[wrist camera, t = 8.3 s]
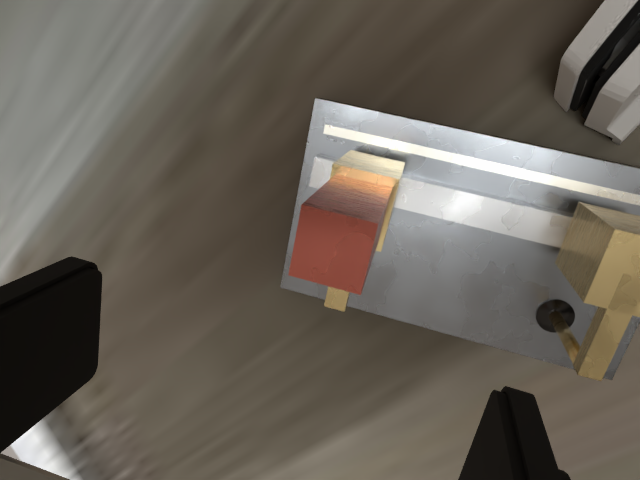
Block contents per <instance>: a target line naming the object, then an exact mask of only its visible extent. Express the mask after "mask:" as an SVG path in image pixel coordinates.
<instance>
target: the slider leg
mask: <svg viewBox="0 0 640 480" xmlns="http://www.w3.org/2000/svg"><path fill="white" fill-rule="evenodd" d="M404 166H405V162H401V161H397V160H392V159H388V158H384V157H379V156H375V155H371V154H366V153H362V152H358V151H353V150H350V151H349V152H347V153H346V154H345V155H343V156H342V157H341V158H339V159H338V160H337V161H336V162H334V163H333V165H332V170H331V175H330V179H329V180H328V181H327V182H326V183H325V184H324V185H323V186H322V187H320V188H319V189H318V190H317V191H316V192H315V193H314V194H313V195H312V196H310V197H309V198H308V199H307V200H306V201H305V202H304V203H303V204H302V205H301V210H300V215H299V221H298V226H297V231H296V237H295V242H294V247H293V253H292V258H291V263H290V268H289V274H288V275H289V276H293V277H296V278H300V279H304V280H307V281H311V282H315V283H318V284H322V285H326V286H328V290H327V295H326V299H325V304H324V306H326V307H329V308H333V309H336V310H340V311H343V312H345V309H346V306H347V303H348V299H349V295H350V292H351V293H355V294H358V295H361V293H362V290H363V287H364V284H365V281H366V278H367V275H368V272H369V269H370V266H371V263H372V260H373V257H374V254H375V251H379V252H381V250H382V247H383V244H384V240H385V237H386V234H387V230H388V227H389V224H390V220H391V216H392V212H393V208H394V205H395V201H396V197H397V193H398V189H399V185H400V181H401V177H402V173H403V170H404Z"/></svg>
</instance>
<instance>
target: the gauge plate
mask: <svg viewBox="0 0 640 480" xmlns="http://www.w3.org/2000/svg"><path fill="white" fill-rule="evenodd" d="M350 150H353V151H358V152H362V153H366V154H371V155H375V156H379V157H384V158H388V159H392V160H397V161H401V162H405V166H404V170H403V173H402V177H401V181H400V185H399V189H398V193H397V197H396V201H395V205H394V208H393V212H392V216H391V220H390V224H389V227H388V230H387V234H386V237H385V240H384V244H383V247H382V250H381V252H379V251H375V254H374V257H373V260H372V263H371V266H370V269H369V272H368V275H367V278H366V281H365V284H364V287H363V290H362V293H361V295H358V294H355V293H351V292H350V295H349V299H348V303H347V306H349V307H352V308H356V309H360V310H363V311H367V312H370V313H374V314H377V315H381V316H385V317H388V318H392V319H395V320H399V321H403V322H406V323H410V324H413V325H417V326H420V327H424V328H428V329H431V330H435V331H438V332H442V333H445V334H449V335H453V336H456V337H460V338H463V339H467V340H471V341H474V342H478V343H481V344H485V345H488V346H492V347H496V348H499V349H503V350H506V351H510V352H513V353H517V354H521V355H524V356H528V357H531V358H535V359H539V360H542V361H546V362H549V363H553V364H556V365H560V366H564V367H567V368H571V369H574V370H576V372H577V374H578V375H580V376H584V377H588V378H591V379H595V380H598V381H602V379H603V378H607V379H610V380H612V378H613V376H614V374H615V372H616V370H617V368H618V366H619V364H620V362H621V359H622V357H623V355H624V353H625V351H626V349H627V347H628V345H629V343H630V341H631V339H632V337H633V334H634V332H635V330H636V328H637V326H638V324H639V322H640V168H639V167H635V166H630V165H626V164H621V163H616V162H612V161H607V160H603V159H598V158H593V157H589V156H584V155H580V154H575V153H570V152H566V151H561V150H557V149H552V148H547V147H543V146H538V145H533V144H529V143H524V142H520V141H515V140H510V139H506V138H501V137H497V136H492V135H487V134H483V133H478V132H474V131H469V130H464V129H460V128H455V127H451V126H446V125H441V124H437V123H432V122H428V121H423V120H418V119H414V118H409V117H405V116H400V115H395V114H391V113H386V112H382V111H377V110H372V109H368V108H363V107H359V106H354V105H349V104H345V103H340V102H336V101H331V100H326V99H322V98H315V102H314V107H313V113H312V118H311V124H310V129H309V134H308V140H307V145H306V151H305V156H304V162H303V167H302V172H301V178H300V183H299V189H298V194H297V200H296V205H295V210H294V216H293V221H292V227H291V232H290V238H289V243H288V248H287V254H286V259H285V265H284V270H283V276H282V281H281V286H280V287H281V288H284V289H288V290H292V291H295V292H299V293H302V294H306V295H309V296H313V297H317V298H320V299H324V300H325V299H326V295H327V290H328V286H326V285H322V284H318V283H315V282H311V281H307V280H304V279H300V278H296V277H293V276H289V275H288V274H289V268H290V263H291V258H292V253H293V247H294V242H295V237H296V231H297V226H298V221H299V215H300V210H301V205H302V204H303V203H304V202H305V201H306V200H307V199H308V198H309V197H310V196H312V195H313V194H314V193H315V192H316V191H317V190H318V189H319V188H320V187H322V186H323V185H324V184H325V183H326V182H327V181H328V180H329V179H330V175H331V170H332V165H333V163H334V162H336V161H337V160H338V159H339V158H341V157H342V156H343V155H345V154H346V153H347V152H349V151H350Z"/></svg>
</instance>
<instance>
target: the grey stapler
mask: <svg viewBox="0 0 640 480" xmlns="http://www.w3.org/2000/svg"><path fill="white" fill-rule="evenodd" d="M590 95H591V96H590ZM589 96H590V98H589V100H588V103H587V105H586V107H585V110H584V112H583V114H582V116H583V117H584V118H585V119H586V121H585V123H584V125H585V126H587V127H589V128H592V129H594V130H596V131H598V132H600V133H602V134H605V135H607V136H609V137H611V138H613V139H612V142H614V143H616V144H618V145H620V144H621V143H622V142H623V141H624V140H625V139H626V138H627V137H628V136H629V134H630V133H631V132H632V131H633V130H634V129H635V128H636V127H637V126H638V125H639V124H640V0H605V1H604V2H603V3H602V4H601V6H600V7H599V8H598V10H597V11H596V12H595V14H594V15H593V16H592V17H591V19H590V20H589V21H588V23H587V24H586V25H585V26H584V28H583V29H582V30H581V32H580V33H579V34H578V35H577V37H576V38H575V39H574V41H573V42H572V43H571V45H570V46H569V47H568V49H567V50H566V52H565V53H564V55H563V57H562V59H561V62H560V67H559V72H558V77H557V82H556V87H555V92H554V98H555V100H556V101H557V102H558V104H559V105H560V106H561V107H562V108H563V109H564V111H565V112H567V111H568V110H569V109H570V108H571V109H573V110H574V111H576V110H577V109H578V108H579V107H580V106H581V105H582V104H583V103H584V102H585V100H586V99H587V98H588V97H589Z"/></svg>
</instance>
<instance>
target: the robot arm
mask: <svg viewBox="0 0 640 480" xmlns="http://www.w3.org/2000/svg"><path fill="white" fill-rule="evenodd" d="M101 292H102V274H101V272H100V271H98V268H97V265H96V264H95V263H92V262H89V261H85V260H82V259H79V258H75V257H68V258H65V259H63V260H61V261H59V262H56V263H54V264H52V265H49V266H47V267H45V268H42V269H40V270H38V271H36V272H33V273H31V274H29V275H26V276H24V277H22V278H19V279H17V280H15V281H12V282H10V283H8V284H6V285H3V286H1V287H0V480H69V479H67V478H64V477H62V476H59V475H56V474H54V473H51V472H48V471H46V470H43V469H41V468H38V467H35V466H33V465H30V464H27V463H25V462H22V461H19V460H17V459H14V458H11V457H9V456H6V455H3V454H1V452H2V451H3V450H4V449H6V448H7V447H8V446H9V445H11V444H12V443H13V442H14V441H16V440H17V439H18V438H19V437H20V436H22V435H23V434H24V433H25V432H27V431H28V430H29V429H30V428H31V427H33V426H34V425H35V424H36V423H38V422H39V421H40V420H41V419H43V418H44V417H45V416H46V415H47V414H49V413H50V412H51V411H52V410H54V409H55V408H56V407H57V406H59V405H60V404H61V403H62V402H63V401H65V400H66V399H67V398H68V397H70V396H71V395H72V394H73V393H74V392H76V391H77V390H78V389H79V388H81V387H82V386H83V385H84V384H86V383H87V382H88V381H89V380H90V379H91V378H92V377H93V376H94V374H95V372H96V370H97V366H98V351H99V331H100V311H101ZM458 480H571V479H570V477H569V475H568V474H567V473H566V472H564V471H562V470H559V469H558V467H557V464H556V461H555V458H554V455H553V451H552V448H551V445H550V442H549V439H548V436H547V433H546V430H545V427H544V424H543V421H542V418H541V415H540V411H539V408H538V405H537V402H536V399H535V397H534V395H533V394H530V393H527V392H523V391H520V390H517V389H513V388H510V387H507V386H505V387H504V388H503V389H502V390H501V392H500V391H496V390H493V391H492V393H491V395H490V397H489V400H488V402H487V405H486V408H485V410H484V413H483V416H482V418H481V421H480V424H479V426H478V429H477V432H476V434H475V437H474V440H473V442H472V445H471V447H470V450H469V453H468V455H467V458H466V461H465V463H464V466H463V469H462V471H461V474H460V477H459V479H458Z"/></svg>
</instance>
